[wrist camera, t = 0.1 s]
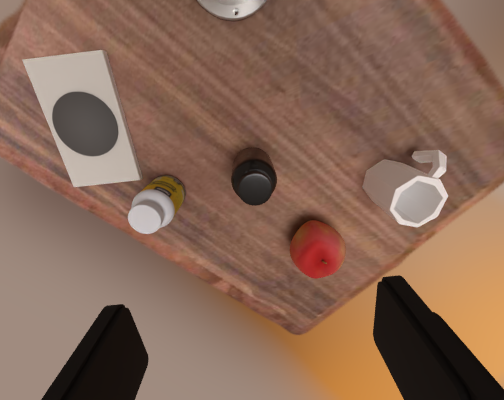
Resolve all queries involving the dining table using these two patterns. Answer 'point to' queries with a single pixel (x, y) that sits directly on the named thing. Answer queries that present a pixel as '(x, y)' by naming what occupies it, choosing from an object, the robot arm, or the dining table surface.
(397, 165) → the mug
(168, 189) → the pill bottle
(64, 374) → the robot arm
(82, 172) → the board
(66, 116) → the pad
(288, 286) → the dining table surface
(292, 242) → the apple
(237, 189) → the supplement bottle
